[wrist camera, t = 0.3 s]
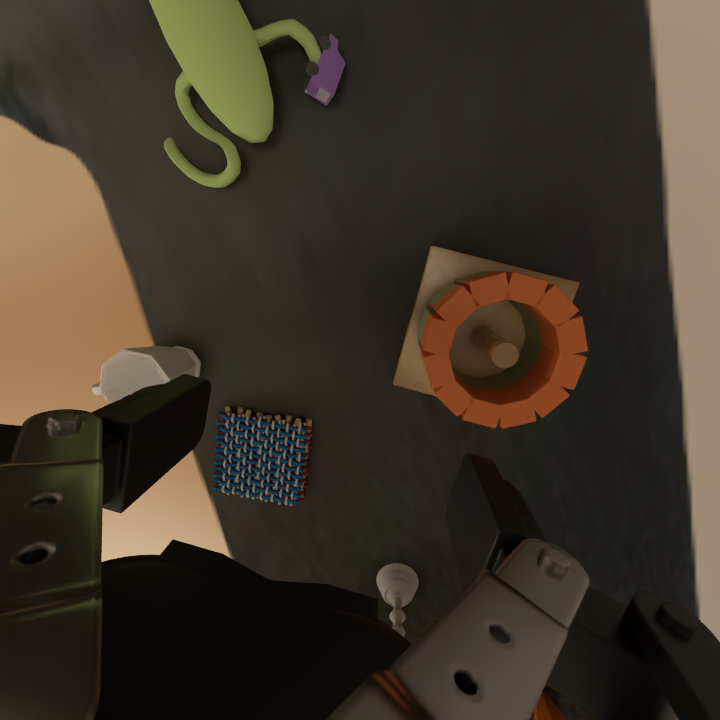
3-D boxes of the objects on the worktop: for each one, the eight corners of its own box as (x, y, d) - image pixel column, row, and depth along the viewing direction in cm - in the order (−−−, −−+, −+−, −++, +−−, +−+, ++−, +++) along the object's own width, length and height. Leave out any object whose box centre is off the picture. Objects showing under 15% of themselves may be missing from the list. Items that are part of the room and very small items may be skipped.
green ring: (439, 258, 36) (444, 257, 32) (565, 290, 36) (586, 293, 32) (404, 378, 39) (405, 390, 35) (521, 408, 39) (535, 424, 35)
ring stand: (430, 246, 37) (442, 238, 28) (572, 282, 37) (636, 286, 27) (392, 380, 41) (391, 415, 31) (522, 414, 40) (562, 461, 31)
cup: (220, 390, 43) (181, 417, 35) (138, 403, 44) (83, 432, 36) (203, 328, 41) (158, 342, 34) (119, 344, 43) (57, 361, 35)
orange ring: (444, 257, 32) (450, 256, 28) (586, 293, 32) (612, 296, 28) (405, 390, 35) (406, 405, 31) (535, 424, 35) (552, 444, 31)
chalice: (420, 611, 47) (434, 813, 30) (365, 600, 47) (346, 793, 30) (431, 561, 45) (453, 744, 28) (373, 550, 46) (360, 724, 28)
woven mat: (306, 501, 45) (302, 511, 43) (218, 485, 46) (210, 495, 44) (317, 418, 42) (313, 425, 41) (223, 402, 43) (215, 408, 41)
